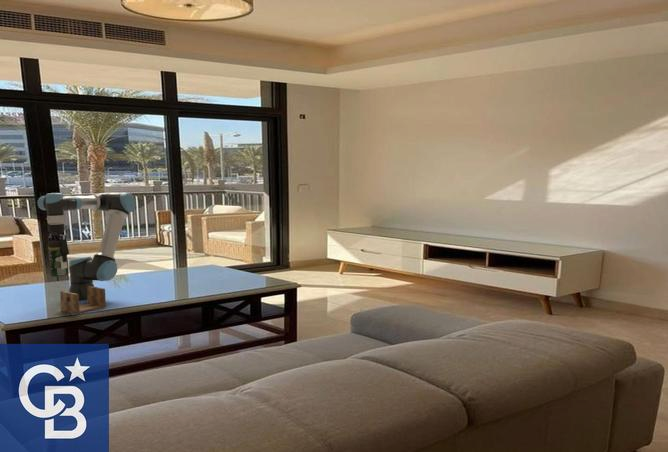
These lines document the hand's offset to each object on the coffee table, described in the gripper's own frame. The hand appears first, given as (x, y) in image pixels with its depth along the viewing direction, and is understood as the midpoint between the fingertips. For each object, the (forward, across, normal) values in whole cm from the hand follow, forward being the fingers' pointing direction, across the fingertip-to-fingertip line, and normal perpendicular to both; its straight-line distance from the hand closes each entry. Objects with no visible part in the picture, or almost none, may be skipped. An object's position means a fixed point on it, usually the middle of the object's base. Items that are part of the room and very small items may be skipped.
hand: (58, 267), depth 259 cm
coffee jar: (+4, 0, 0) cm, 4 cm away
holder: (+23, +5, +9) cm, 25 cm away
